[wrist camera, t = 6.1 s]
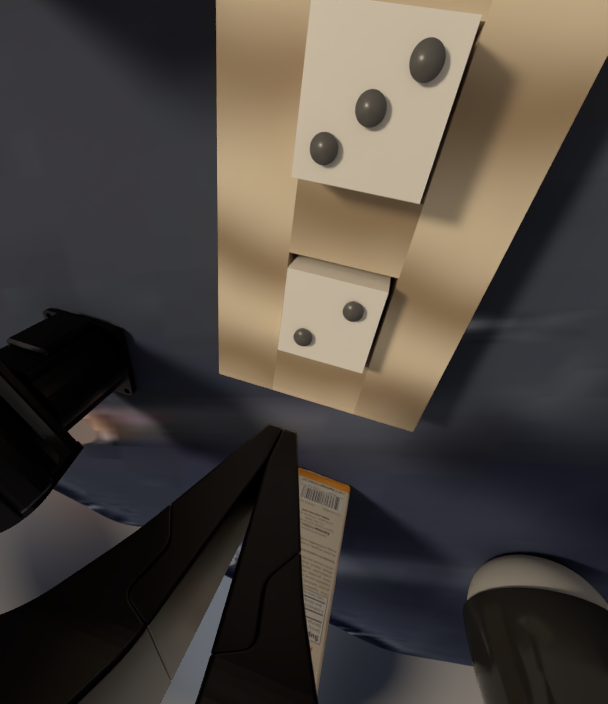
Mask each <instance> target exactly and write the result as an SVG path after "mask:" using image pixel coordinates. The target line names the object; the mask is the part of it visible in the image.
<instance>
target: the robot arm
mask: <svg viewBox="0 0 608 704" xmlns="http://www.w3.org/2000/svg"><path fill="white" fill-rule="evenodd" d="M43 315H44V317H45V320H43V321H41V322H39V323H37V324H35V325H33V326H31V327H29V328H27V329H25V330H23V331H22V332H20V333H18V334H16V335H14V336H12V337H10V338H9V339H8V340H7V344H8V345H7V346H5V347H3V348H1V349H0V533H1V532H3V531H5V530H7V529H9V528H11V527H12V526H14V525H16V524H17V523H19V522H20V521H22V520H23V519H24V518H26V517H27V516H28V515H29V514H31V513H32V512H33V511H34V510H35V509H36V508H37V507H38V506H39V505H40V504H41V503H42V502H43V501H44V499H46V497H47V496H48V495H49V493H50V492H51V491H52V489H53V488H54V487H55V485H56V484H57V483H58V481H59V480H60V479H61V477H62V476H63V475H64V473H65V472H66V471H67V469H68V468H69V467H70V465H71V464H72V463H73V461H74V460H75V459H76V457H77V456H78V455H79V453H80V452H81V451H82V449H83V448H84V447H83V446H82V445H81V444H80V442H78V441H76V440H75V439H74V438H73V437H72V436H71V435H70V434H69V433H68V432H67V431H68V430H69V429H71V428H72V427H73V426H74V425H75V424H76V423H78V422H79V421H80V420H81V419H82V418H83V417H84V416H86V415H87V414H88V413H89V412H90V411H91V410H93V409H94V408H95V407H96V406H97V405H98V404H99V403H101V402H102V401H103V400H104V399H105V398H106V397H107V396H109V395H110V394H111V393H112V392H113V391H116V392H119V393H122V394H125V395H128V396H131V395H132V394H133V393H135V391H136V389H135V385H134V380H133V375H132V371H131V366H130V361H129V356H128V352H127V347H126V342H125V338H124V334H123V332H122V330H120V329H119V328H117V327H114V326H111V325H108V324H104V323H101V322H97V321H94V320H91V319H87V318H84V317H80V316H77V315H74V314H70V313H67V312H63V311H60V310H57V309H53V308H49V309H47V310H44V311H43ZM245 533H246V534H245ZM244 535H245V537H244ZM243 537H244V541H243V544H242V548H241V551H240V555H239V558H238V562H237V565H236V568H235V572H234V575H233V579H232V583H231V586H230V589H229V593H228V596H227V600H226V603H225V607H224V610H223V613H222V617H221V620H220V624H219V627H218V630H217V634H216V637H215V641H214V644H213V648H212V651H211V656H210V658H209V662H208V665H207V668H206V671H205V675H204V678H203V681H202V684H201V688H200V690H199V694H198V697H197V700H196V702H195V704H318V697H317V690H316V684H315V677H314V670H313V663H312V656H311V650H310V643H309V636H308V629H307V621H306V613H305V605H304V596H303V580H302V557H301V554H300V553H301V532H300V502H299V472H298V443H297V432H295V431H292V430H289V429H286V428H285V429H283V428H282V427H280V426H277V425H274V424H269V425H267V426H266V427H265V428H263V429H262V430H261V431H260V432H258V433H257V434H256V435H255V436H254V437H252V438H251V439H250V440H249V441H247V442H246V443H245V444H244V445H243V446H241V447H240V448H239V449H238V450H236V451H235V452H234V453H233V454H231V455H230V456H229V457H228V458H227V459H225V460H224V461H223V462H222V463H220V464H219V465H218V466H217V467H216V468H214V469H213V470H212V471H211V472H209V473H208V474H207V475H206V476H204V477H203V478H202V479H201V480H200V481H198V482H197V483H196V484H195V485H193V486H192V487H191V488H190V489H189V490H187V491H186V492H185V493H184V494H182V495H181V496H180V497H179V498H177V499H176V500H175V501H174V502H173V503H172V504H171V506H170V505H169V506H167V507H166V508H165V509H164V510H163V511H161V512H160V513H159V514H158V515H156V516H155V517H154V518H153V519H151V520H150V521H149V522H147V523H146V524H145V525H144V526H142V527H141V528H140V529H139V530H137V531H136V532H134V533H133V534H132V535H130V536H129V537H127V538H126V539H124V540H123V541H122V542H120V543H119V544H117V545H116V546H115V547H113V548H112V549H110V550H109V551H107V552H106V553H104V554H103V555H101V556H100V557H98V558H97V559H95V560H94V561H92V562H91V563H89V564H88V565H86V566H85V567H83V568H82V569H80V570H79V571H77V572H76V573H74V574H73V575H72V576H70V577H68V578H67V579H65V580H64V581H62V582H61V583H59V584H58V585H56V586H55V587H53V588H52V589H50V590H49V591H47V592H46V593H44V594H42V595H40V596H39V597H37V598H35V599H34V600H31V601H30V602H28V603H26V604H24V605H22V606H20V607H17V608H15V609H13V610H11V611H9V612H6V613H4V614H1V615H0V704H160V703H161V701H162V699H163V697H164V695H165V693H166V691H167V689H168V687H169V685H170V683H171V680H172V679H173V677H174V675H175V673H176V671H177V669H178V667H179V665H180V663H181V661H182V659H183V657H184V655H185V653H186V651H187V649H188V647H189V645H190V643H191V641H192V639H193V637H194V635H195V633H196V631H197V629H198V627H199V625H200V623H201V620H202V619H203V617H204V615H205V613H206V611H207V609H208V607H209V605H210V603H211V601H212V599H213V597H214V595H215V593H216V591H217V589H218V587H219V585H220V583H221V581H222V579H223V577H224V575H225V573H226V571H227V569H228V567H229V565H230V563H231V561H232V558H233V557H234V555H235V553H236V551H237V549H238V547H239V545H240V543H241V541H242V539H243Z"/></svg>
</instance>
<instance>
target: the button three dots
mask: <svg viewBox="0 0 608 704" xmlns="http://www.w3.org/2000/svg"><path fill="white" fill-rule="evenodd" d="M481 17H482V15H480V14H473V13H465V12H458V11H450V10H442V9H435V8H427V7H419V6H412V5H404V4H396V3H389V2H381V1H373V0H311V4H310V13H309V22H308V31H307V40H306V49H305V58H304V68H303V77H302V86H301V95H300V104H299V113H298V122H297V131H296V140H295V149H294V158H293V167H292V176H291V177H293V178H298V179H303V180H308V181H312V182H317V183H322V184H327V185H331V186H336V187H341V188H346V189H351V190H355V191H360V192H365V193H370V194H374V195H379V196H384V197H389V198H393V199H398V200H403V201H408V202H413V203H417V204H420V202H421V199H422V196H423V192H424V189H425V186H426V183H427V180H428V177H429V174H430V171H431V168H432V165H433V162H434V159H435V156H436V153H437V150H438V147H439V144H440V141H441V138H442V135H443V132H444V129H445V126H446V123H447V120H448V117H449V114H450V111H451V108H452V105H453V102H454V99H455V96H456V93H457V90H458V87H459V84H460V81H461V77H462V74H463V71H464V68H465V65H466V62H467V59H468V56H469V53H470V50H471V47H472V44H473V41H474V38H475V35H476V32H477V29H478V26H479V23H480V20H481Z"/></svg>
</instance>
